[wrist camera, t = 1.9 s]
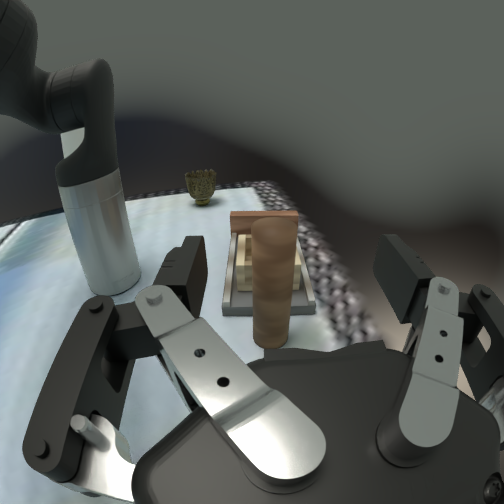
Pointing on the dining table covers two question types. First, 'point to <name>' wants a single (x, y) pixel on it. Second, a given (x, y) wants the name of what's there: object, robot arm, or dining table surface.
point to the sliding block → (246, 265)
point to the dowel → (272, 279)
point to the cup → (201, 185)
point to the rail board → (242, 300)
